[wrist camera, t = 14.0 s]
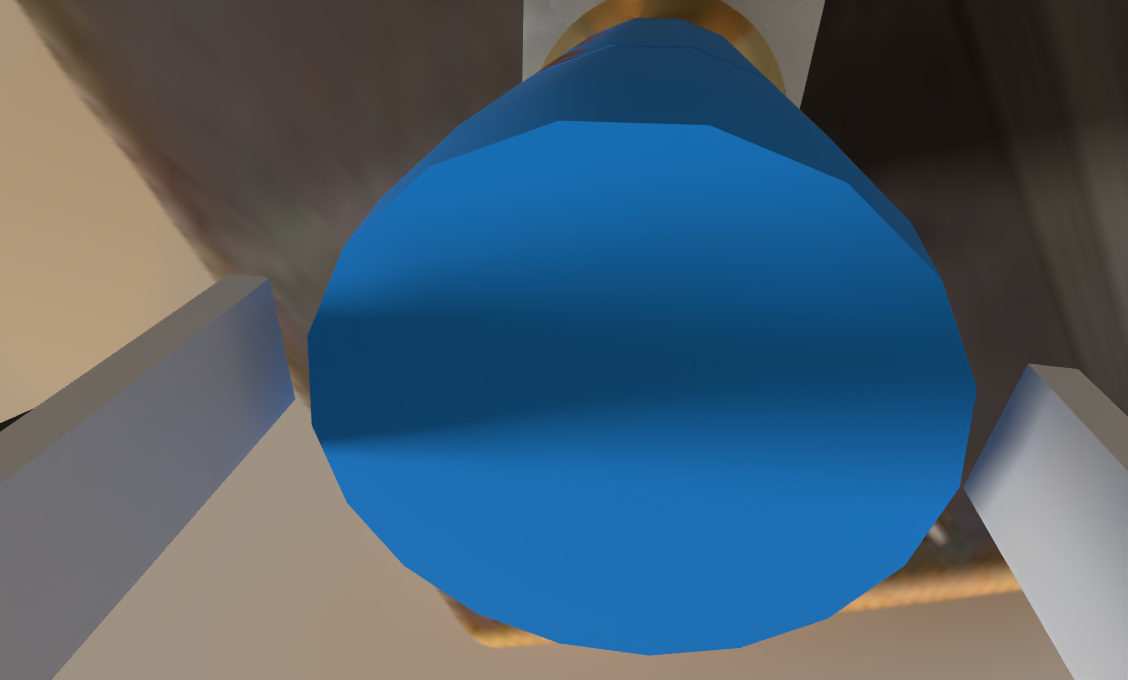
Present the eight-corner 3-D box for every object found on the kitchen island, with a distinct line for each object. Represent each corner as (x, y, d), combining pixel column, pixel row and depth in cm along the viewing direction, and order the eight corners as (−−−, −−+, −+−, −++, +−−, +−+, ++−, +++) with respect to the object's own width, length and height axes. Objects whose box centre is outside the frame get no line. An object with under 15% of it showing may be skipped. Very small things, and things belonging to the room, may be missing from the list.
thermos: (793, 178, 32) (1058, 592, 10) (607, 265, 35) (515, 699, 14) (706, -37, 28) (841, -109, 6) (507, 87, 31) (160, 311, 10)
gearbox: (534, 244, 42) (495, 320, 32) (544, -77, 33) (493, -102, 23) (745, 266, 40) (769, 353, 31) (817, -62, 31) (882, -82, 22)
